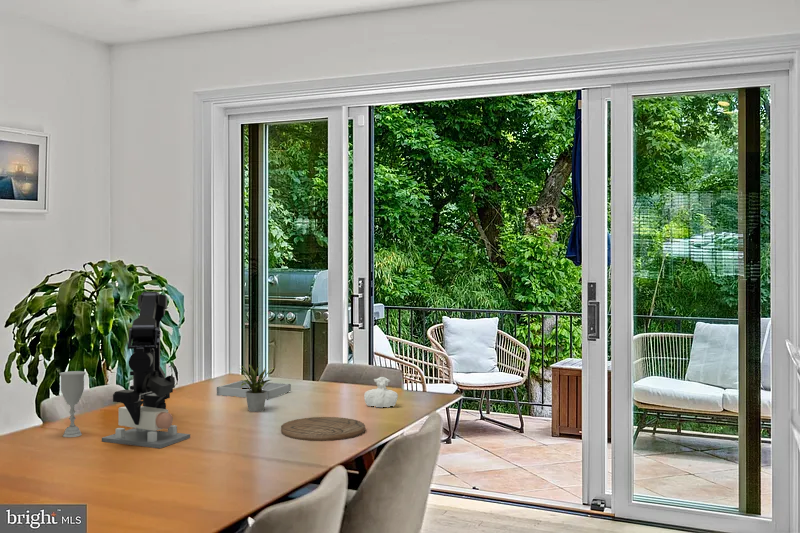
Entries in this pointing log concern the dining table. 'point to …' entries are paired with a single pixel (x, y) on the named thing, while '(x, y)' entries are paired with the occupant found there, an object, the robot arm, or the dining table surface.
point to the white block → (147, 418)
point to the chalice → (72, 396)
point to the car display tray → (236, 390)
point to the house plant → (255, 390)
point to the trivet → (322, 428)
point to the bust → (381, 395)
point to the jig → (146, 437)
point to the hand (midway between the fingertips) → (143, 422)
